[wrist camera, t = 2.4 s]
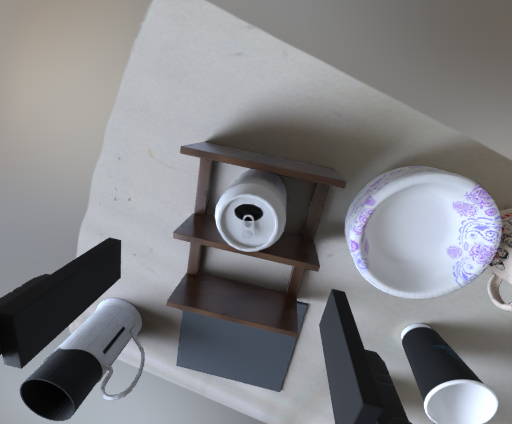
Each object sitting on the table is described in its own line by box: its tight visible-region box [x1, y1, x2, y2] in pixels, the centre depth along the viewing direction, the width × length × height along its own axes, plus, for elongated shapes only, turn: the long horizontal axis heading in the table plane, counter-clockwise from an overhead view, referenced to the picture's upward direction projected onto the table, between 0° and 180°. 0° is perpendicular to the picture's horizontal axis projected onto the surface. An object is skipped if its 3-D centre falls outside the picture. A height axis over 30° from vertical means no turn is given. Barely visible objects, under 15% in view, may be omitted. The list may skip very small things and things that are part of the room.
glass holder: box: [20, 298, 144, 421], centre depth 40 cm, size 9×14×15 cm, turn 89°
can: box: [215, 169, 287, 252], centre depth 31 cm, size 8×8×12 cm
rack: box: [166, 142, 346, 338], centre depth 34 cm, size 18×21×8 cm
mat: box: [176, 302, 307, 392], centre depth 45 cm, size 20×20×1 cm
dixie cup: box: [401, 323, 499, 424], centre depth 36 cm, size 8×8×11 cm
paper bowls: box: [344, 166, 502, 299], centre depth 32 cm, size 15×15×8 cm
